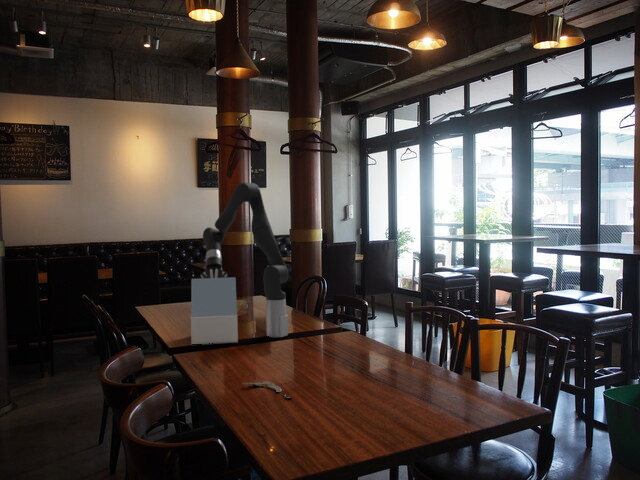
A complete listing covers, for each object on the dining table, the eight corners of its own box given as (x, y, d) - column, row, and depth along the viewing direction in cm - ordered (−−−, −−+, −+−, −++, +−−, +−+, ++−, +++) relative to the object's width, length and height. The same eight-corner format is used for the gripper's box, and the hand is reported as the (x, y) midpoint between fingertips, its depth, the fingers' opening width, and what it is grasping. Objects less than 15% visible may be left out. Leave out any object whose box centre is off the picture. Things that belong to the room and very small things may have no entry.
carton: (193, 335, 237) (192, 310, 236) (236, 333, 241) (235, 308, 240) (191, 345, 219) (190, 317, 219) (237, 342, 223) (237, 315, 223)
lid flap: (191, 279, 227) (191, 278, 226) (235, 277, 231) (235, 277, 230) (191, 317, 219) (191, 316, 218) (236, 315, 223) (236, 314, 222)
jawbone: (259, 383, 171) (260, 377, 171) (307, 395, 160) (308, 389, 160) (241, 388, 164) (241, 382, 164) (290, 402, 152) (290, 395, 152)
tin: (230, 317, 279) (230, 302, 279) (226, 316, 281) (226, 302, 281) (249, 313, 291) (249, 298, 291) (245, 312, 293) (245, 298, 292)
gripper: (199, 256, 240) (199, 285, 228) (227, 255, 242) (228, 284, 231) (200, 266, 245) (199, 294, 234) (227, 265, 248) (228, 293, 236)
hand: (214, 289), depth 232 cm, fingers closed
